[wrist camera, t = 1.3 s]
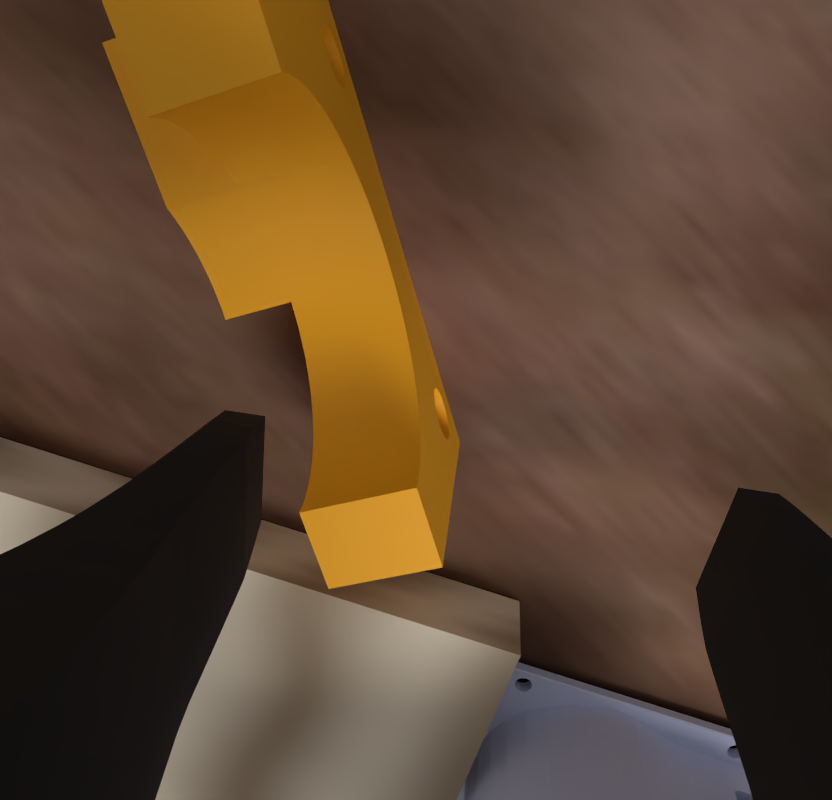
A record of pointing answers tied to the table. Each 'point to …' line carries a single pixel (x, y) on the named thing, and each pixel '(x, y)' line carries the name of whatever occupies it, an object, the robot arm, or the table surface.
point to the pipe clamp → (301, 253)
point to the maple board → (312, 665)
